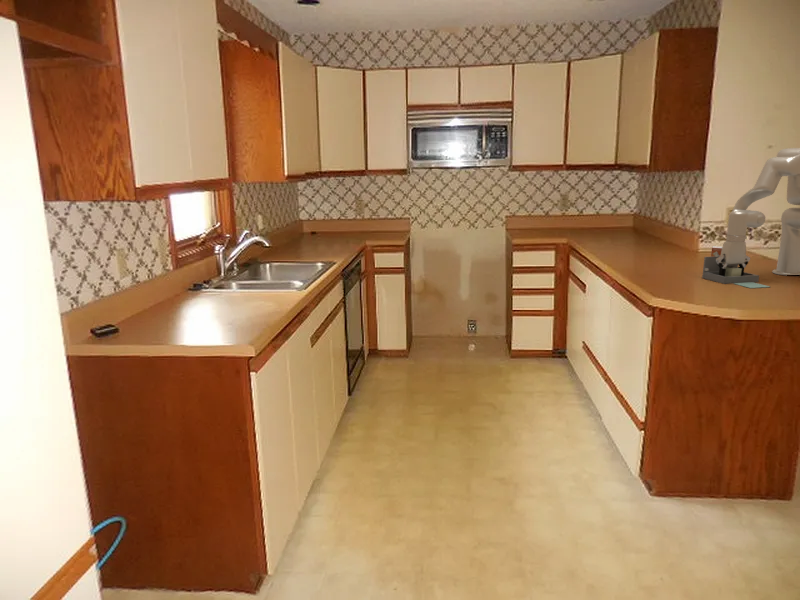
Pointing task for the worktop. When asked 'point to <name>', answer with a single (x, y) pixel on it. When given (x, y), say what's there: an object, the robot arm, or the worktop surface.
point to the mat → (751, 285)
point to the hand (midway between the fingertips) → (730, 276)
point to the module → (732, 271)
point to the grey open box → (713, 274)
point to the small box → (716, 251)
